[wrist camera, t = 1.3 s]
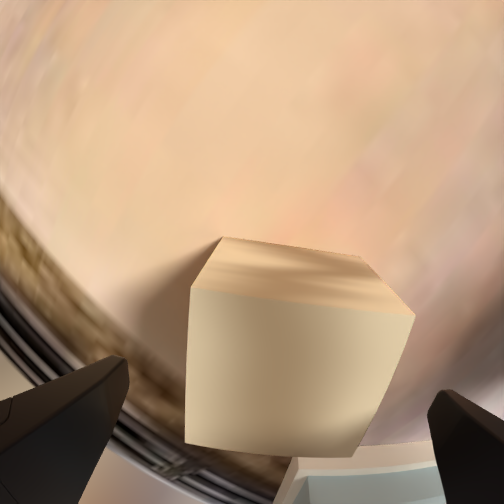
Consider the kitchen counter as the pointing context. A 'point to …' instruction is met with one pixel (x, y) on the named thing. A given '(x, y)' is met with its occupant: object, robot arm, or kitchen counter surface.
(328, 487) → the top block
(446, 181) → the kitchen counter surface
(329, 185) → the kitchen counter surface
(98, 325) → the kitchen counter surface
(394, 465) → the bottom block
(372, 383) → the maple cube
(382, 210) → the kitchen counter surface
